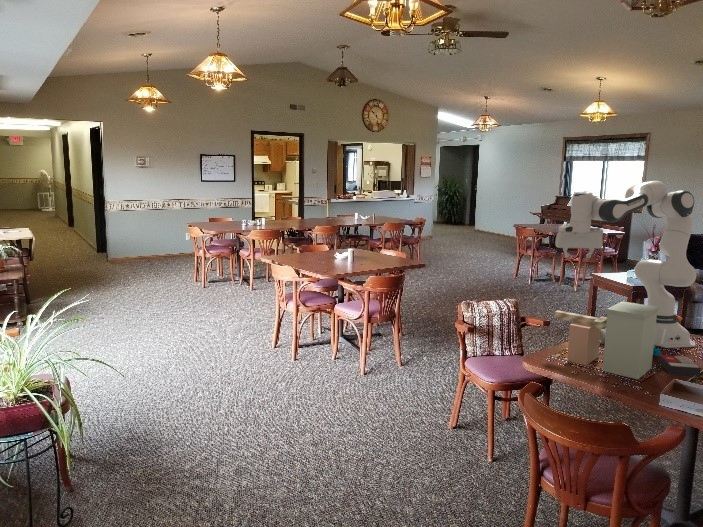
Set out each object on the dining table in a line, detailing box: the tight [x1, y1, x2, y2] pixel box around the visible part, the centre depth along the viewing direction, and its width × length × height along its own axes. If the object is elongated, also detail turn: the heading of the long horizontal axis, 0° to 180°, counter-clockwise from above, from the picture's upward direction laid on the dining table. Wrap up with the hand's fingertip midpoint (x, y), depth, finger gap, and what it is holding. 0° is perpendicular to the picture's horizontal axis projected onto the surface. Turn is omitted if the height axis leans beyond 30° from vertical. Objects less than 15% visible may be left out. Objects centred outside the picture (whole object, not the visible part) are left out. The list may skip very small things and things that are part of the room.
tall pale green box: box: [602, 300, 659, 380], centre depth 220 cm, size 14×18×26 cm
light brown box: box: [566, 322, 601, 366], centre depth 233 cm, size 8×14×16 cm, turn 136°
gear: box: [653, 345, 662, 357], centre depth 237 cm, size 11×6×10 cm
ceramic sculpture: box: [600, 328, 606, 345], centre depth 253 cm, size 11×9×15 cm
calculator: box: [657, 354, 702, 377], centre depth 223 cm, size 11×4×15 cm
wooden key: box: [553, 309, 607, 329], centre depth 233 cm, size 21×10×3 cm, turn 46°
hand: (577, 257), depth 248 cm, fingers open, 8 cm apart
